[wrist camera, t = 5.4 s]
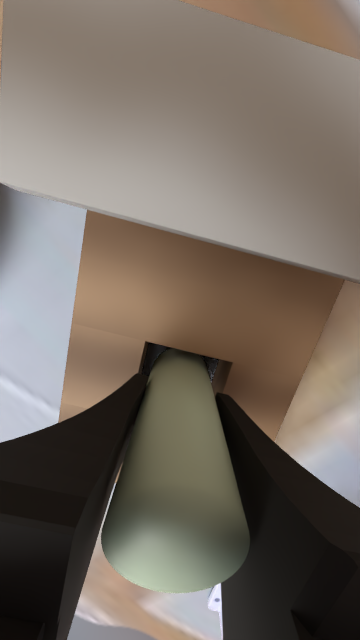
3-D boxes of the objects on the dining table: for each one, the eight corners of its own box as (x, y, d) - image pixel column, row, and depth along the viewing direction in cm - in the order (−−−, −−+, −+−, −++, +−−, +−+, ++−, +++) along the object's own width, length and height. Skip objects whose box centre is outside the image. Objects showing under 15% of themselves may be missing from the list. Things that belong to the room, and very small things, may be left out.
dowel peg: (198, 404, 13) (224, 603, 5) (145, 391, 13) (90, 578, 5) (214, 355, 12) (271, 504, 4) (158, 341, 12) (116, 470, 4)
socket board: (234, 471, 15) (275, 631, 9) (73, 436, 15) (-19, 578, 8) (337, 214, 11) (574, 130, 4) (118, 151, 11) (5, -57, 4)
